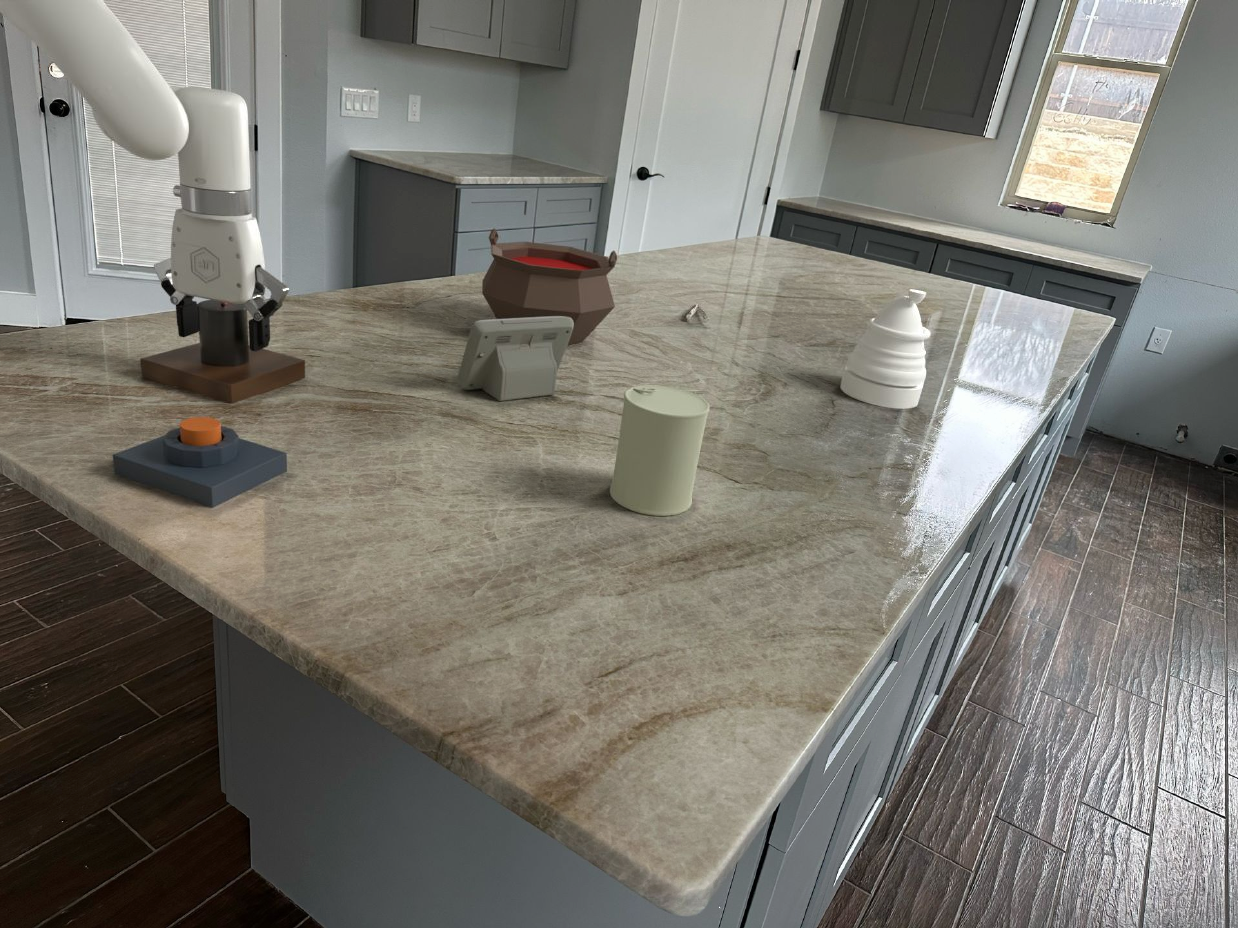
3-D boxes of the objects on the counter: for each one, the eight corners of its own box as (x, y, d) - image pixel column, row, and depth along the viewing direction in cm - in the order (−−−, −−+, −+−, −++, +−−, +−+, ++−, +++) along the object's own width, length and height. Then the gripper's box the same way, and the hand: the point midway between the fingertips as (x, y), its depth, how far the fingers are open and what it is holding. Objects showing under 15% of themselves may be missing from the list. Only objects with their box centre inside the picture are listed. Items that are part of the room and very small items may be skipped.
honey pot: (934, 405, 141) (966, 299, 133) (881, 411, 134) (912, 299, 127) (876, 379, 150) (903, 278, 143) (824, 383, 143) (850, 278, 136)
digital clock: (555, 377, 127) (562, 308, 123) (578, 399, 120) (587, 326, 115) (448, 380, 120) (452, 306, 116) (466, 403, 113) (471, 325, 108)
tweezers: (708, 326, 169) (710, 316, 169) (685, 322, 169) (686, 312, 169) (706, 311, 186) (708, 302, 185) (685, 308, 186) (686, 299, 185)
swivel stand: (141, 377, 105) (139, 358, 104) (221, 354, 117) (220, 337, 116) (231, 404, 102) (230, 385, 101) (305, 378, 113) (304, 360, 112)
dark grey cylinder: (231, 369, 105) (228, 311, 102) (191, 360, 106) (186, 303, 103) (258, 357, 110) (256, 302, 107) (219, 349, 111) (215, 294, 108)
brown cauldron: (626, 331, 157) (638, 242, 150) (590, 365, 135) (603, 262, 129) (504, 307, 161) (511, 219, 154) (450, 336, 139) (456, 235, 133)
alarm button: (172, 441, 82) (170, 424, 82) (201, 430, 86) (200, 414, 85) (201, 450, 81) (200, 433, 81) (229, 439, 85) (228, 422, 84)
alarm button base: (114, 475, 82) (110, 437, 81) (195, 442, 91) (193, 408, 89) (212, 509, 79) (210, 470, 77) (287, 472, 88) (286, 436, 86)
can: (639, 471, 100) (654, 375, 95) (706, 499, 96) (726, 399, 91) (592, 494, 93) (607, 390, 88) (663, 525, 88) (682, 418, 84)
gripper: (128, 193, 98) (141, 336, 105) (266, 217, 96) (270, 362, 103) (171, 188, 105) (181, 322, 112) (301, 210, 103) (303, 346, 110)
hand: (224, 341), depth 107 cm, fingers open, 9 cm apart
